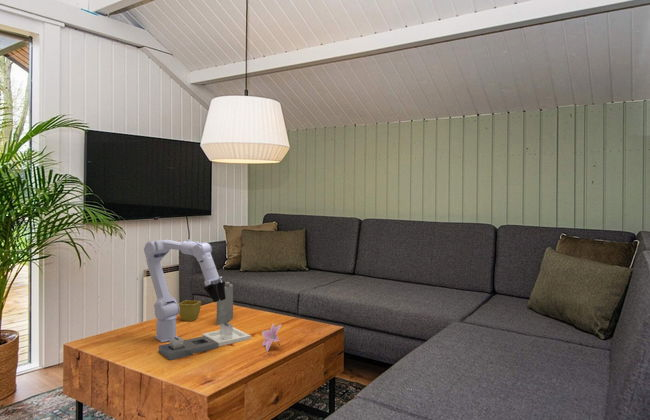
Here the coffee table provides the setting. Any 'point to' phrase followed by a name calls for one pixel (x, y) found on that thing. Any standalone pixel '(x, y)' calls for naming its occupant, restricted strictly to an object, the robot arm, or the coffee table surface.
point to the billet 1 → (176, 343)
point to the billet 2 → (226, 331)
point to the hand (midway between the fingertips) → (220, 300)
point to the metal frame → (188, 347)
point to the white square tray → (237, 337)
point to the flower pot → (189, 310)
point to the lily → (270, 336)
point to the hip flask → (225, 306)
